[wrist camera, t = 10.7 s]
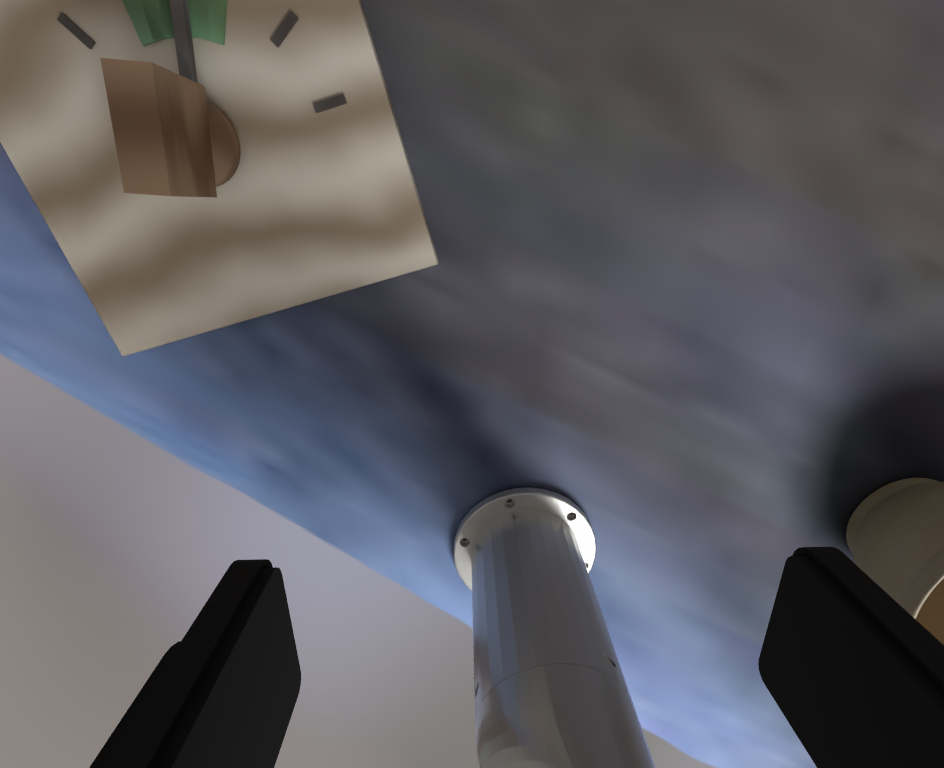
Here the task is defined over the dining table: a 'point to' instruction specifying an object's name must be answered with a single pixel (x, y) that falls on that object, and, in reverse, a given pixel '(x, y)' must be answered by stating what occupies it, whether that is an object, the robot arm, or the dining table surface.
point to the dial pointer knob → (169, 123)
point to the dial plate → (248, 191)
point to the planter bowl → (904, 546)
